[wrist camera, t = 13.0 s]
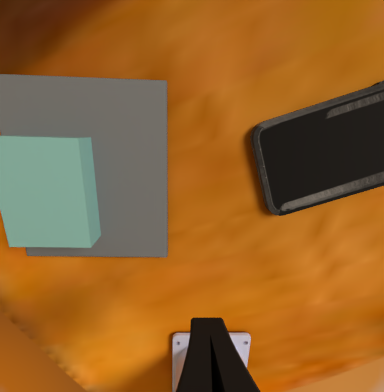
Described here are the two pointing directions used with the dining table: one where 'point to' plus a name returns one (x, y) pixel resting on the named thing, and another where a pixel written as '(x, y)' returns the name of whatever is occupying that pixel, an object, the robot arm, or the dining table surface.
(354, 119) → the phone
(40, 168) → the block
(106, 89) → the mat
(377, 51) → the dining table surface
